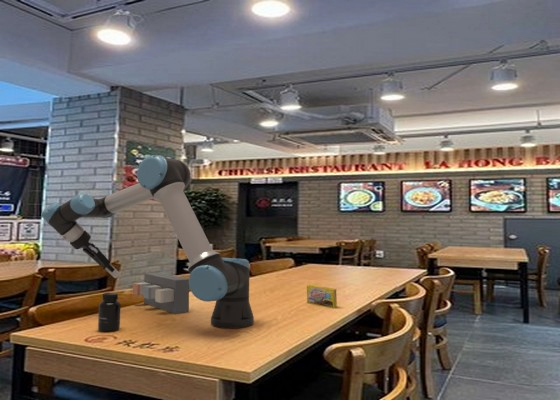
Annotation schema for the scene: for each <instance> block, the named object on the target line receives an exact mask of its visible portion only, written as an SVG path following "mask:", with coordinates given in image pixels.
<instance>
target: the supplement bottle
mask: <svg viewBox="0 0 560 400" xmlns="http://www.w3.org/2000/svg"><path fill="white" fill-rule="evenodd" d="M118 299H119V293H117V292H104V293H103V294H102V297H101V300H102V301H101V302H100V303H99V304H98V321H97V323H98V324H97V330H98V331H99V332H101V333H112V332H117V331H119V330H120V329H121V328H120V327H121V309H122V307H121V302H120V301H119V300H118Z"/></svg>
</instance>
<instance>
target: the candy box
mask: <svg viewBox="0 0 560 400" xmlns="http://www.w3.org/2000/svg"><path fill="white" fill-rule="evenodd" d="M306 303H307V304H309V305H313V306H320V307H326V308H328V309H330V308H331V309H338V306H337V305H338V304H337V303H338V301H337V288H333V287H326V286H322V285H321V286H320V285H315V284H307V285H306Z"/></svg>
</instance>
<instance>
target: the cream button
mask: <svg viewBox="0 0 560 400" xmlns="http://www.w3.org/2000/svg"><path fill="white" fill-rule="evenodd" d="M155 301H156V302H159V303H165V302H173V301H174V288H166V289H156V290H155Z"/></svg>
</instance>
